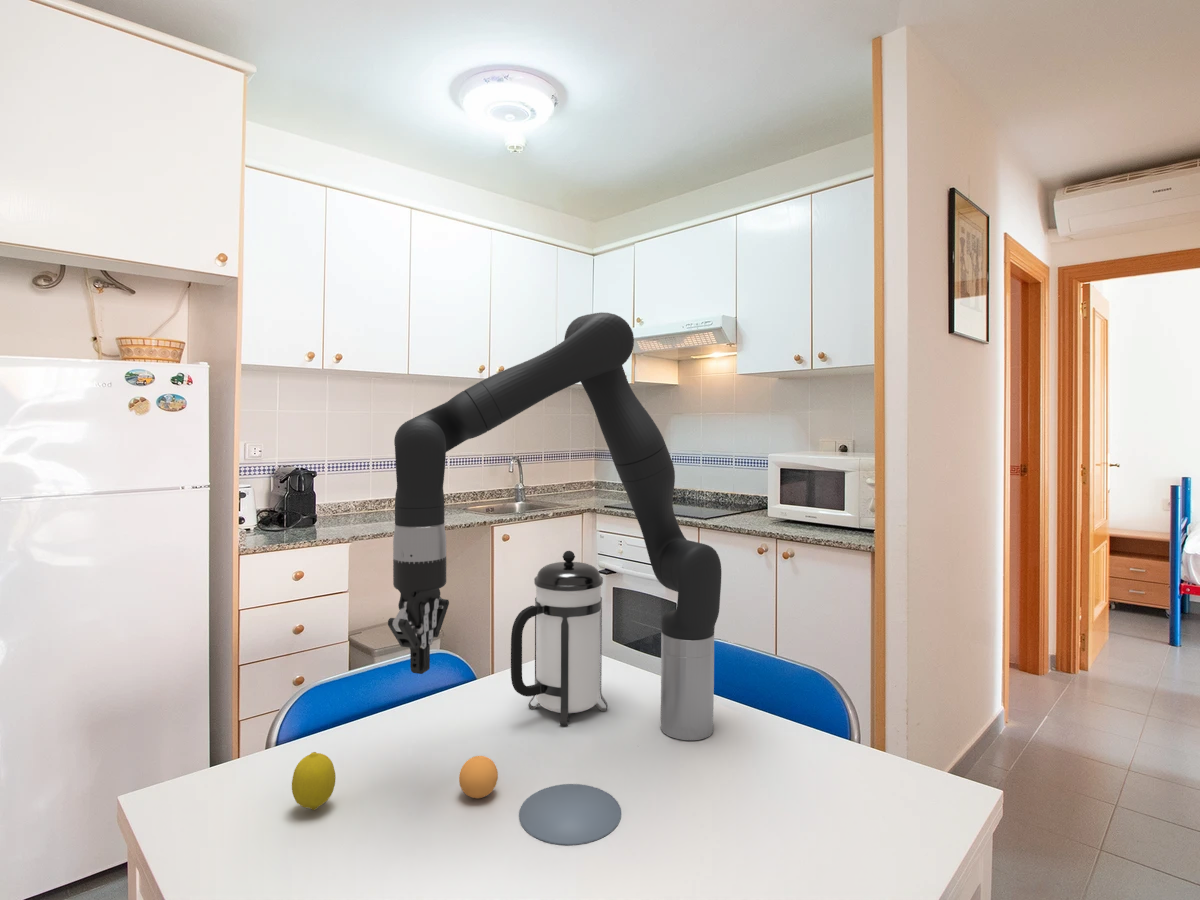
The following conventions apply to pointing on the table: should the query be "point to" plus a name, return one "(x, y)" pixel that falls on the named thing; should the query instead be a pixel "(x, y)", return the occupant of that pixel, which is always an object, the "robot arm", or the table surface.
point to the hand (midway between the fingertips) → (420, 671)
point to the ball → (478, 777)
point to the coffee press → (563, 639)
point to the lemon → (313, 780)
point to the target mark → (570, 814)
